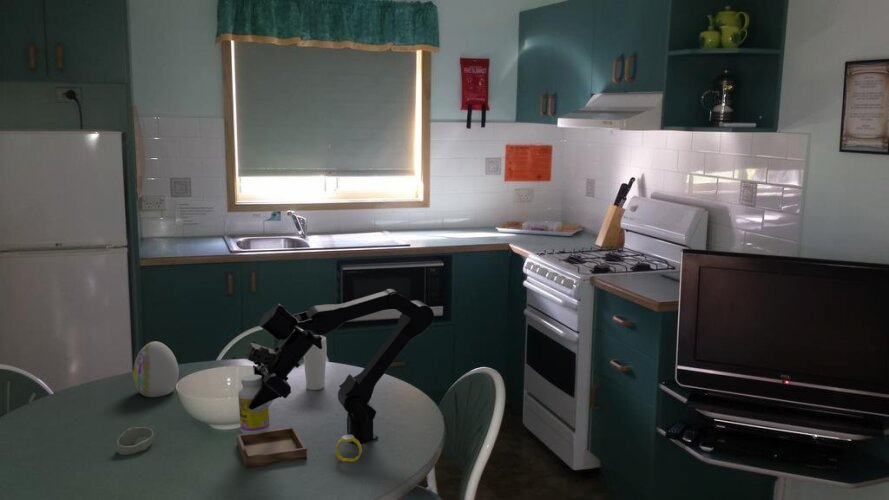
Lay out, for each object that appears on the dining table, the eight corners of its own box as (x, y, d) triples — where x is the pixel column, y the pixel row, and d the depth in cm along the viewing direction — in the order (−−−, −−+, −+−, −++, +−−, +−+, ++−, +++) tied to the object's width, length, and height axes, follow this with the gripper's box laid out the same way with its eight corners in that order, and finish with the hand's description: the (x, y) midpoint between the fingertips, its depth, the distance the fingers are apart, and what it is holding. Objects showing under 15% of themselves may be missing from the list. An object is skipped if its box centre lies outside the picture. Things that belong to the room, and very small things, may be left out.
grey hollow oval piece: (144, 439, 203) (143, 420, 202) (160, 445, 200) (159, 425, 199) (111, 452, 196) (109, 432, 195) (127, 458, 192) (126, 438, 191)
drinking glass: (325, 392, 237) (324, 341, 235) (301, 391, 237) (300, 341, 235) (328, 384, 244) (328, 335, 241) (306, 383, 244) (304, 334, 241)
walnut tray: (294, 436, 205) (294, 427, 205) (306, 458, 192) (306, 448, 192) (237, 444, 200) (236, 434, 200) (245, 468, 187) (245, 457, 187)
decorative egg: (135, 387, 240) (132, 337, 237) (179, 383, 243) (177, 334, 241) (133, 401, 228) (129, 349, 226) (179, 397, 232) (176, 346, 229)
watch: (335, 464, 191) (333, 439, 190) (337, 459, 193) (335, 435, 192) (361, 462, 190) (359, 438, 189) (363, 457, 193) (360, 433, 192)
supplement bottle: (238, 428, 195) (234, 375, 194) (266, 423, 198) (262, 371, 196) (244, 437, 189) (239, 383, 188) (272, 432, 192) (268, 378, 190)
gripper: (259, 321, 200) (215, 371, 198) (273, 342, 183) (225, 397, 181) (293, 348, 204) (251, 397, 202) (310, 370, 187) (264, 425, 185)
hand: (247, 403), depth 192 cm, fingers closed on supplement bottle, 7 cm apart
